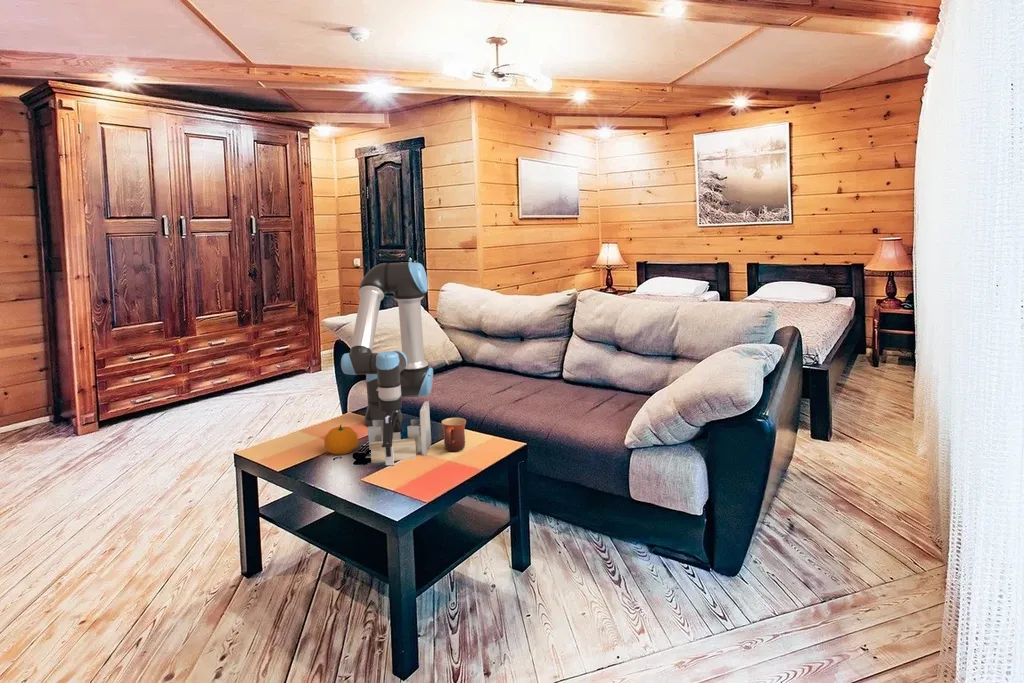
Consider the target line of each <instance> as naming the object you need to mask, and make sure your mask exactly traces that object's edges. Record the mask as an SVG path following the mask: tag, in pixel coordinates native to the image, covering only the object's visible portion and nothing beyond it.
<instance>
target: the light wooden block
mask: <svg viewBox="0 0 1024 683" xmlns="http://www.w3.org/2000/svg"><path fill="white" fill-rule="evenodd" d="M386 444H388V443H386ZM382 445H383V441H379V442H370V448H371V455H370V460H371V461H370V463H371V464H375V463H385V449H384V447H382ZM392 446H393V454H394V462H396V461H405V460H406V461H407V460H413V459H417V453H416V444H415V438H409V439H408V438H403V439H402V438H401V439H399V440H392Z"/></svg>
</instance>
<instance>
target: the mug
mask: <svg viewBox="0 0 1024 683" xmlns="http://www.w3.org/2000/svg"><path fill="white" fill-rule="evenodd" d="M466 424H467V420H466V419H465V418H463V417H448V418H444V419H442V420H441V426H442V428H443V429H442V430H443V445H444V449H445V450H446V451H448V452H450V453H455V452H456V453H458V452H460V451H463V450H464V449H465V447H466V436H465V430H466V428H465V427H466Z"/></svg>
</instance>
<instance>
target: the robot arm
mask: <svg viewBox="0 0 1024 683" xmlns="http://www.w3.org/2000/svg"><path fill="white" fill-rule="evenodd" d="M427 276H428V275H427V274H426V270H425V267H424V266H423V264H422V263H420V262H411V261H408V262H383V263H379V264H377V265H375V266H373V267H372V268H371V269H370V270H369V271H368V272H367V273H366V274H365V275H364V276H363V278H362V280H361V282H360V284H359V288H358V296H359V303H358V308H357V313H356V319H355V324H354V329H353V333H352V334H353V335H352V339H351V345H350V351H349V352H347V353H344V354H342V356H341V360H340V367H341V370H342V373H343V374H345V375H352V376H358V375H365V376H366V377H365V379H366V380H365V384H366V393H367V394H366V395H367V396H366V397H367V407H366V412H365V415H364V424H365V426H367V427H371V426H373V420H383V445H382V447H384V449H385V462H384V463H385V466H395V461H394V454H393V446H392V440H399V439H402V437H401V436H402V435H401V433H402V432H404V431H403V430H404V429H403V428H402V422H403V414H402V411H401V409H402V408H403V405H402V398H423V397H428V396H429V395H430V394H431V391H432V387H433V381H434V369H433V368H432V366H431V367H429V362H428V361H427V360H426V359H425V354H424V353H425V352H424V351H425V350H424V337H423V336H424V335H423V323H422V321H423V320H422V319H423V318H422V306H421V304H422V303H421V301H422V299H423V298H424V297H425V294H426V293H427V292H428V289H429V287H428V284H429V283H428V277H427ZM385 294H393V299H394V300H395V301H396V302H397V304H398V305H397V306H398V315H399V316H398V317H399V332H400V344H401V350H392V351H382V352H373V347H374V344H375V343H374V342H375V335H376V329H377V323H378V318H379V312H380V307H381V306H380V305H381V301H383V300H384V298H385ZM386 443H388V444H386Z"/></svg>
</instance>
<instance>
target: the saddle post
mask: <svg viewBox="0 0 1024 683" xmlns="http://www.w3.org/2000/svg"><path fill="white" fill-rule="evenodd" d="M367 434H368V448H369V450H371V448H370V442H379V441H383V420H373V426H371V427H370V426H367ZM369 450H368V451H369Z"/></svg>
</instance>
